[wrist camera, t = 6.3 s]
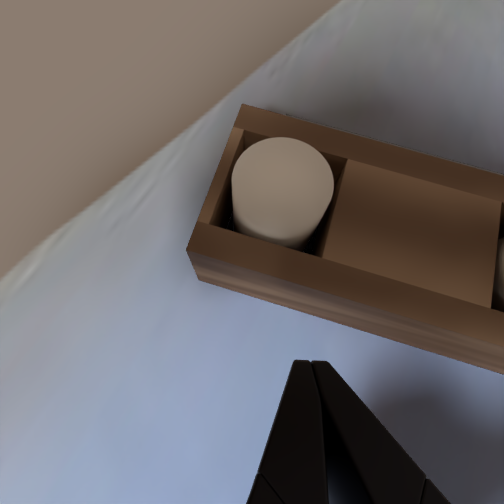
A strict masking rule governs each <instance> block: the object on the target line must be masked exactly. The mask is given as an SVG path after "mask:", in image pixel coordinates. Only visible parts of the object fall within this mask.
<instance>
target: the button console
mask: <svg viewBox="0 0 504 504" xmlns="http://www.w3.org/2000/svg"><path fill="white" fill-rule="evenodd" d="M275 137H286V138H292V139H297V140H300V141H302V142H305V143H307V144H309V145H310V146H312V147H313V148H315V149H316V150H317V151H318V152H319V153H320V154H321V155H322V156H323V157H324V158H325V160H326V161H327V163H328V164H329V166H330V169H331V171H332V175H333V180H334V190H333V195H332V198H331V201H330V203H329V205H328V207H327V209H326V211H325V213H324V214H323V216H322V218H321V220H320V223H319V227H318V230H317V234H316V238H315V242H314V245H313V249H312V253H311V255H310V254H307V253H304V252H300V251H297V250H294V249H290V248H287V247H284V246H280V245H277V244H274V243H270V242H267V241H263V240H260V239H257V238H253V237H250V236H247V235H243V234H240V233H237V232H233V231H230V230H227V227H228V224H229V221H230V219H231V216H232V213H233V202H232V173H233V169H234V166H235V164H236V162H237V160H238V159H239V157H240V156H241V154H242V153H243V152H244V151H245V150H246V149H248V148H249V147H250V146H252V145H253V144H255V143H257V142H259V141H262V140H265V139H269V138H275ZM503 237H504V176H503V175H499V174H495V173H492V172H488V171H485V170H481V169H477V168H474V167H470V166H466V165H463V164H459V163H456V162H452V161H448V160H445V159H441V158H437V157H434V156H430V155H427V154H423V153H419V152H416V151H412V150H408V149H405V148H401V147H398V146H394V145H390V144H387V143H383V142H379V141H376V140H372V139H369V138H365V137H361V136H358V135H354V134H350V133H347V132H343V131H340V130H336V129H332V128H329V127H325V126H321V125H318V124H314V123H311V122H307V121H303V120H300V119H296V118H292V117H289V116H285V115H282V114H278V113H274V112H271V111H267V110H263V109H260V108H256V107H253V106H249V105H245V104H242V105H241V108H240V111H239V113H238V116H237V118H236V121H235V124H234V126H233V129H232V131H231V134H230V137H229V139H228V142H227V144H226V147H225V150H224V152H223V155H222V157H221V160H220V163H219V165H218V168H217V170H216V173H215V176H214V178H213V181H212V183H211V186H210V189H209V191H208V194H207V196H206V199H205V202H204V204H203V207H202V209H201V212H200V214H199V217H198V220H197V222H196V225H195V227H194V230H193V233H192V235H191V238H190V240H189V243H188V246H187V248H186V251H187V254H188V256H189V258H190V261H191V263H192V265H193V268H194V270H195V272H196V275H197V277H198V279H199V280H200V281H204V282H207V283H210V284H213V285H216V286H220V287H223V288H226V289H229V290H233V291H236V292H239V293H242V294H246V295H249V296H252V297H255V298H258V299H262V300H265V301H268V302H271V303H275V304H278V305H281V306H284V307H288V308H291V309H294V310H297V311H300V312H304V313H307V314H310V315H313V316H317V317H320V318H323V319H326V320H330V321H333V322H336V323H339V324H342V325H346V326H349V327H352V328H355V329H359V330H362V331H365V332H368V333H372V334H375V335H378V336H381V337H384V338H388V339H391V340H394V341H397V342H401V343H404V344H407V345H410V346H414V347H417V348H420V349H423V350H426V351H430V352H433V353H436V354H439V355H443V356H446V357H449V358H452V359H456V360H459V361H462V362H465V363H468V364H472V365H475V366H478V367H481V368H485V369H488V370H491V371H494V372H498V373H501V374H504V312H501V311H498V310H494V309H491V301H492V291H493V282H494V272H495V262H496V252H497V243H498V240H499V239H501V238H503Z"/></svg>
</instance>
